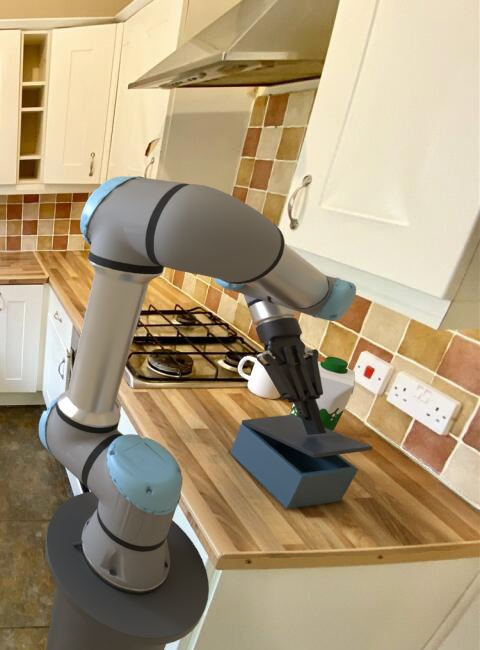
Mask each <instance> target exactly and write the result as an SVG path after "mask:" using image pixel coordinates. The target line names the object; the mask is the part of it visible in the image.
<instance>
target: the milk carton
mask: <svg viewBox="0 0 480 650" xmlns="http://www.w3.org/2000/svg"><path fill="white" fill-rule="evenodd" d="M348 365H349V362H348V361H346V360H345V359H342V358H340V357H336V356H326V357H325V359H324V361H318V366H319V372H320V377H321V383H322V389H323V395H320V398H319V399H316V402H317V405H318V407H319V410H320V412H321V415H320V418H321V420H322V423H323V426H324V428H327V429H329V430H332V431H334V430H335V429H336V427H337V425H338V424H339V421H340V419H341V417H342V415H343V413H344V411H345V409H346V407H347V406H348V403H349V401H350V399H351V396H352V395H353V394H354V389H355V385H356V371H355V370H351V369H348ZM289 415H294V416H296V417H299V416H298V414H297V410H296V408H295V405H294V403H293V402H292V405H291V409H290V413H289ZM299 418H300V417H299Z"/></svg>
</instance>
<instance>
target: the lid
mask: <svg viewBox="0 0 480 650" xmlns="http://www.w3.org/2000/svg"><path fill="white" fill-rule="evenodd" d="M241 423H242V424H244V425H246V426H248V427H250V428H253V429H255V430H257V431H259V432H261V433H263V434H265V435H267V436H269V437H271V438H273V439H276V440H278V441H280V442H282V443H284V444H286V445H288V446H290V447H292V448H294V449H296V450H299V451H301V452H303V453H305V454H307V455H309V456H311V457H313V458H316V457H323V456H331V455H345V454H353V453H361V452H362V453H363V452H368V451H372V450H373V446H372V445H369V444H367V443H365V442H362V441H359V440H357V439H354V438H352V437H349V436H347V435H344V434H342V433H339V432H337V431H334V430H333V431H332V430H329V429H327V428H325V431H326V433H323V434H312V435H307V432H306V429H305V427H304V424H303V421H302V419H301V418H299V417H296V416H294V415H290V414H284V415H283V414H282V415H277V416H276V415H275V416H267V417H258V418H257V417H256V418H249V419H241Z"/></svg>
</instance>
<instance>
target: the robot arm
mask: <svg viewBox="0 0 480 650" xmlns="http://www.w3.org/2000/svg"><path fill="white" fill-rule="evenodd" d="M79 228H80V233H82V239H83V240H84V241H85V242H86V243H87V244H88V245H90V248H89V252H88V258H87V261H88V264H89V265H90V266H91V267H92V269H93V271H94V275H93V278H92V282H91V288H90V292H89V296H88V300H87V304H86V308H85V314H84V318H83V322H82V327H81V332H80V336H79V339H78V345H77V349H76V353H75V358H74V362H73V367H72V372H71V375H70V379H69V384H68V388H67V390H66V391H63V392H61V393H60V394H59V395H58V397H56V398H55V399H53V400H52V401H50V402H49V404H48V405H47V409H46V410H43V412H42V414H41V417H40V419H39V422H38V423H39V424H38V436H39V439H40V442H41V444H42V445H43V447H44V448H45V449H46V450H47V451H48V453H49V454H50V456H51V457H53V458H54V459H55V460H57V462H59V463H60V464H61V465H62V466H63V467H64V468H65V469H66V470H67V471H68V472H70V474H72V475H73V476H74V477H75V478H76V479H77V480H78V481H79V482H80V483H81V484H82V485H84V486H85V487H86V488H87V489H88V491H89V492H92V493H93V494H94V495H95V496H96V497H97V498H98V499H99V503H98V509H97V510H96V511H95V512H94V514H93V515H92V516H91V517H90V518H89V519H88V521H87V522H86V524H85V526H84V528H83V531H82V537H81V541H78V542H73V546H74V547H78V546H81V549H82V553H83V556H84V559H85V561H86V563H87V565H88V566H89V568H90V569H91V570H92V572H93V573H94V574H95V575H96V576H97V577H98V578H99V579H100V580H102V581H103V582H104V583H105V584H107V585H109V586H110V587H112V588H114V589H116V590H118V591H121V592H124V593H127V594H133V595H144V594H149V593H152V592H154V591H156V590H158V589H159V588H160V587H161V586H162V585H163V584H164V582H165V580H166V578H167V575H168V572H169V568H170V555H169V550H168V544H167V538H166V537H167V534H168V531H169V528H170V525H171V522H172V520H173V519H174V517H175V513H176V510H177V508H178V505H179V503H180V500H181V497H182V487H183V474H182V468H181V466H180V464H179V463H178V460H177V459H176V458H175V456H174V455H173V454H172V453H171V451H169V450H168V449H167V448H166V447H165V446H163V444H161V443H160V442H158V441H156V440H154V439H152V438H150V437H147V436H145V437H144V438H143V437H141V436H142V435H140V434H133V433H129V434H123V433H122V432H120V430H119V429H118V428H119V423H120V420H121V410H120V409H119V407H118V406H117V405H116V402H117V398H118V394H119V391H120V387H121V385H122V381H123V376H124V373H125V370H126V367H127V362H128V359H129V355H130V352H131V349H132V345H133V342H134V337H135V334H136V330H137V328H138V324H139V320H140V317H141V313H142V309H143V306H144V302H145V299H146V294H147V291H148V288H149V285H150V282H151V281H153V280H154V279H156V278H158V277H160V276H161V275H163V273H164V269H165V268H167V269H170V270H174V271H179V272H182V273H189V274H193V275H199V276H205V277H209V278H213V280H214V282H215V284H217V285H218V286H220V287H222V288H223V289H224V290H227V291H230V292H231V291H232V292H235V293H239V294H241V295H243V297H244V300H245V303H246V307H247V309H248V312H249V314H250V317H251V320H252V322H253V324H254V325H255V326H256V327H255V331H256V334H257V338H258V340H259V342H260V343H261V344H263V350H264V352H263V354H262V353H261V354H262V355H261V356H258V355H257V356H258V357H257V356H256V359H257V361H258V362H259V363H260V364H261V365H262V366H263V367H264V368H265V370H266V372H267V373H268V375H269V377H270V379H271V380H272V382H273V384H274V385H275V387H276V389H277V391H278V392H279V394H280V397H281V399H282V400H284V401H286V400H287V402H288V403H291V404H293V403H294V405H295V408H296V410H297V414H298V416H299V417H300V418H301V419H302V421H303V424H304V427H305V429H306V432H307V435H312V434H323V433H326V431H325V428H324V426H323V423H322V420H321V418H320V415H321V412H320V410H319V407H318V405H317V402H316V399H319V398H320V395H323V389H322V383H321V377H320V372H319V366H318V359H319V355H320V352H319V350H318V349H317V348H314V349H310V348H308V347H306V344H305V342H304V341H303V340H302V339H301V336H302V334H303V331H302V328H301V325H300V322H299V321H298V318H296V317H295V316H296V312H298V313H301V314H303V315H308V316H311V317H313V318H315V319H317V318H318V319H322V320H325V321H329V322H336V321H338V320H340V319H342V318H343V317H344V316H345V314H346V313H347V312H348V311H349V310H350V308H351V306H352V304H353V302H354V300H355V297H356V294H357V285H355V284H354V283H353V282H351V281H348V280H345V279H341V278H340V277H334V276H329V275H325V274H324V273H323V272H322V271H320V270H319V269H318V268H317V267H315V266H314V265H313V264H311V263H310V262H309V261H308V260H307V259H306V258H304V257H303V256H301V254H298V253H297V252H296V251H295V250H293V248H291V247H290V246H288V245H287V244H286V240H285V236H284V233H283V232H282V230H281V229H280V227H278V226H277V224H275V223H274V222H273V221H272V220H270V219H269V218H268V217H267V216H265V215H264V214H262V213H261V212H259V210H256V209H255V208H254V207H253V206H250V205H249V204H247V203H245V202H244V201H242V200H240V199H239V198H237V197H235V196H234V195H231V194H229V193H227V192H224V191H222V190H220V189H218V188H214V187H211V186H208V185H204V184H196V183H186V182H185V183H184V182H178V181H170V180H163V179H157V178H149V177H143V176H141V175H138V176H126V175H125V176H115V177H112V178H110V179H107V180H106V181H104V182H102V183H101V185H100V186H99V187H97V188H96V189H94V191H92V193H91V195H90V196H89V197H88V199H87V200H86V202H85V205H84V207H83V209H82V212H81V215H80V223H79Z"/></svg>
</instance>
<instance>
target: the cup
mask: <svg viewBox="0 0 480 650" xmlns="http://www.w3.org/2000/svg"><path fill="white" fill-rule="evenodd" d="M263 353H264V352H263ZM263 353H262V352H261V353H259V354H258V355H257V356H256V357H253V356H251V355H250V356H249V355H246V356H243V357H242V359H240V361H239V362H238V365H237V372H238V374H239V376H240V377H242V378H243V379H245V380H247V388H248V391H250V392H251V393H252V394H254V395H256V396H258V397H260V398H263V399H267V400H268V399H269V400H276V399H279V398H280V397H281V396H280V394H279V392H278V391H277V389H276V387H275V385H274V384H273V382H272V380H271V379H270V377H269V375H268V373H267V372H266V370H265V368H264V367H263V366H262V365H261V364H260V363H259V362H258V361H257V357H258V356H261V355H262V354H263ZM247 361H250V362H252V363H254V365H253V367H252V371H251V372H250V375H248V374H246V373H245V372H244V370H243V366H244V364H245V363H246V362H247Z"/></svg>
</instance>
